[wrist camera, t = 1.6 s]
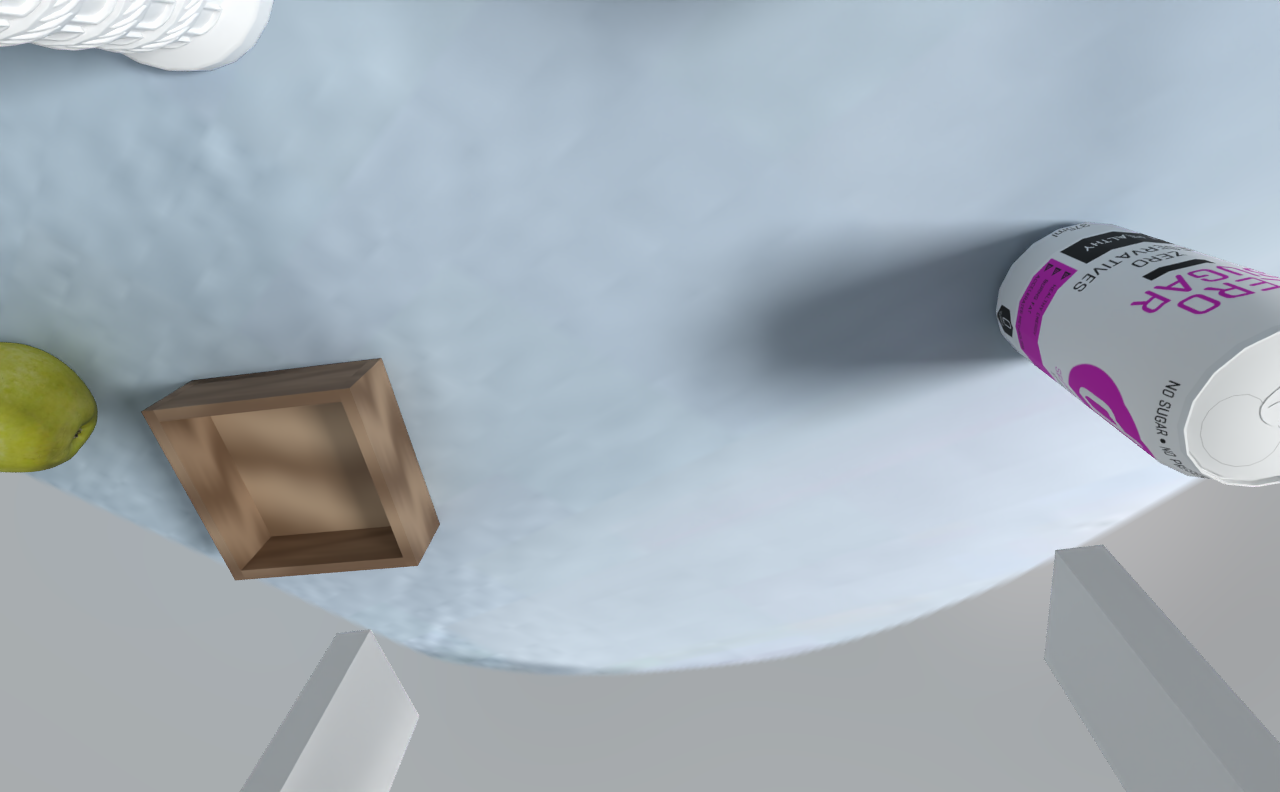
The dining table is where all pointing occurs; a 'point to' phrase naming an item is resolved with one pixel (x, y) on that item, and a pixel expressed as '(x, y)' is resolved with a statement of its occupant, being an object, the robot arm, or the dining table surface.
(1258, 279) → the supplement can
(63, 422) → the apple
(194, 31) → the decorative container
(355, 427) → the walnut box
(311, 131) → the dining table surface
